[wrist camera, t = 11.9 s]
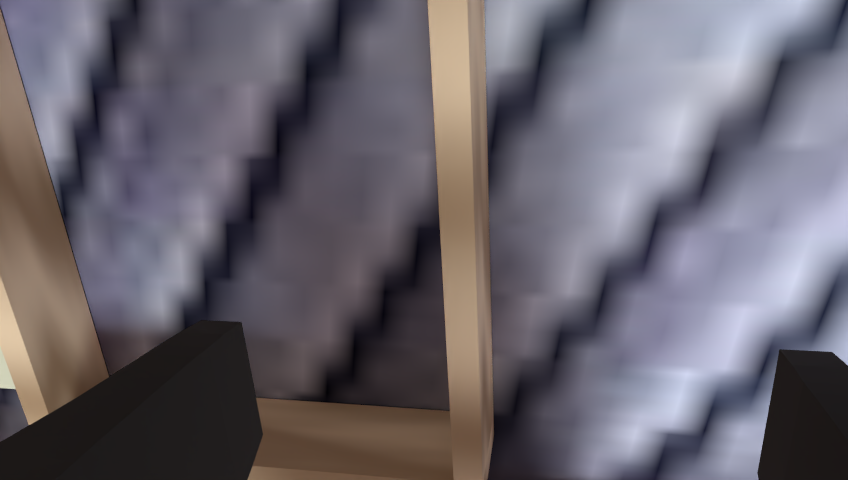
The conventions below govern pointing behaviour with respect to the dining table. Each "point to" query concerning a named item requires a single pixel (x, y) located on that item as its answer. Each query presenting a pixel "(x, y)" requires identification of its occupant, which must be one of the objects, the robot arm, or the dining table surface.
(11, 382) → the mat
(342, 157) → the dining table surface
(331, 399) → the dining table surface
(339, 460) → the wooden tray
